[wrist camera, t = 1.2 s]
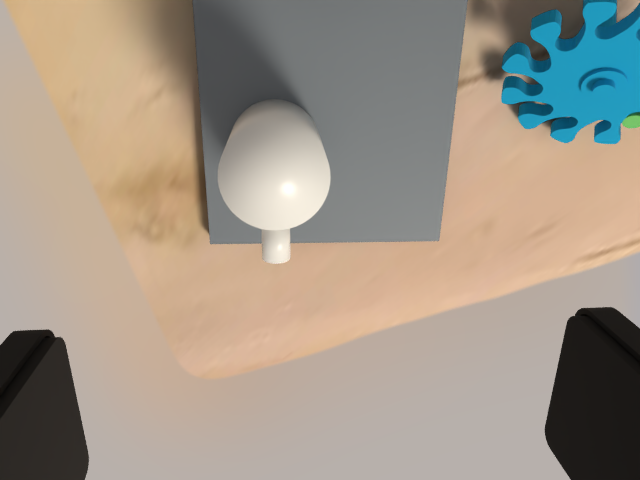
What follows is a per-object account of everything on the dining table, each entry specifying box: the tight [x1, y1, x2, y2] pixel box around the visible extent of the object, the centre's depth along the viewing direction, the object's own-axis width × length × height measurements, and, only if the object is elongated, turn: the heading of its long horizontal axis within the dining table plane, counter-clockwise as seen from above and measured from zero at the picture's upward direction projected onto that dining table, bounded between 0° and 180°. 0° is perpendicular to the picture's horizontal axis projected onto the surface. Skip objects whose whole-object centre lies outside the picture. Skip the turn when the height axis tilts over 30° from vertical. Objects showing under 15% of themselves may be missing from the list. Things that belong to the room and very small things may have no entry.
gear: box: [502, 0, 640, 144], centre depth 27 cm, size 11×6×10 cm
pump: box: [218, 99, 331, 264], centre depth 26 cm, size 7×5×6 cm
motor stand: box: [193, 0, 468, 244], centre depth 22 cm, size 24×14×12 cm, turn 179°
